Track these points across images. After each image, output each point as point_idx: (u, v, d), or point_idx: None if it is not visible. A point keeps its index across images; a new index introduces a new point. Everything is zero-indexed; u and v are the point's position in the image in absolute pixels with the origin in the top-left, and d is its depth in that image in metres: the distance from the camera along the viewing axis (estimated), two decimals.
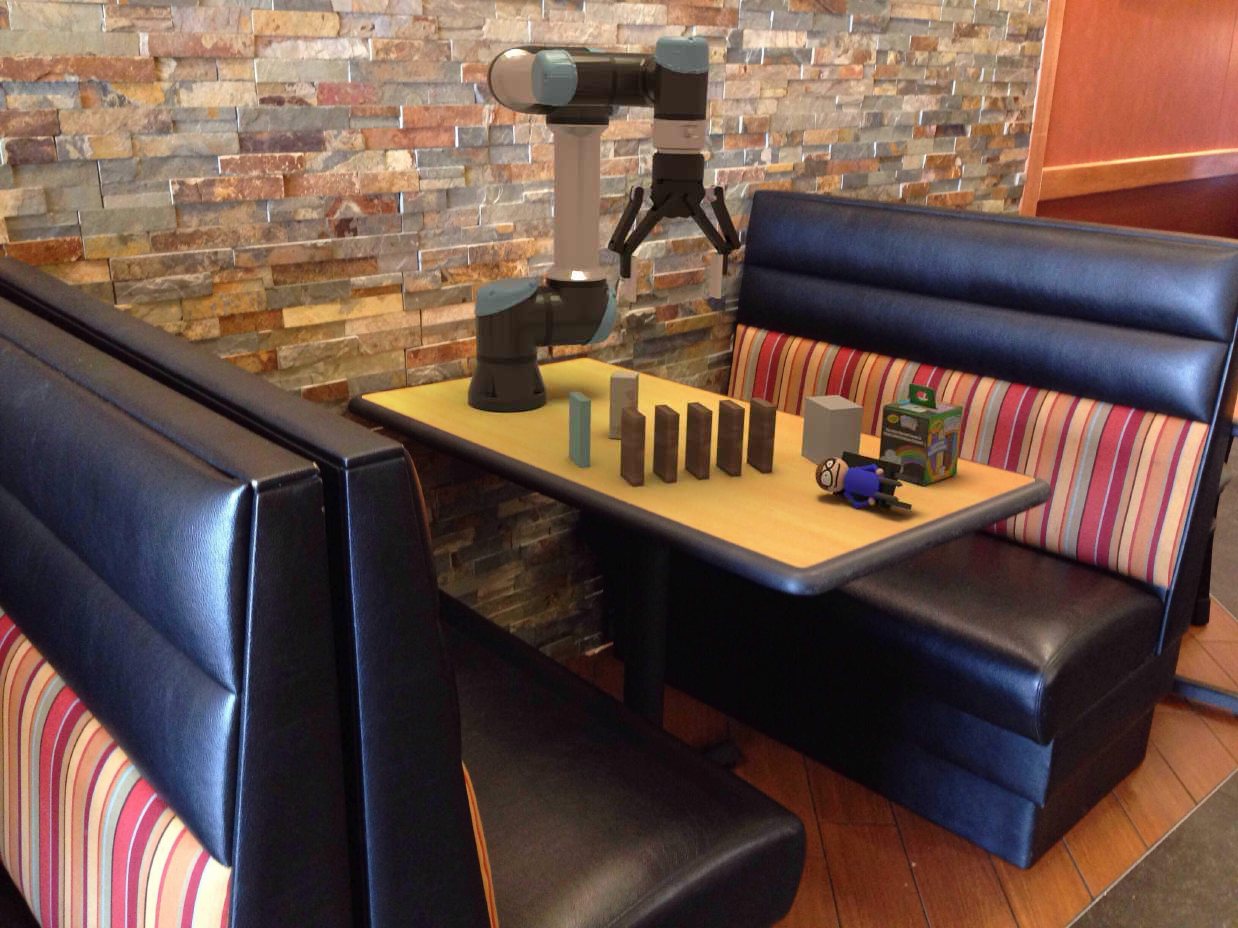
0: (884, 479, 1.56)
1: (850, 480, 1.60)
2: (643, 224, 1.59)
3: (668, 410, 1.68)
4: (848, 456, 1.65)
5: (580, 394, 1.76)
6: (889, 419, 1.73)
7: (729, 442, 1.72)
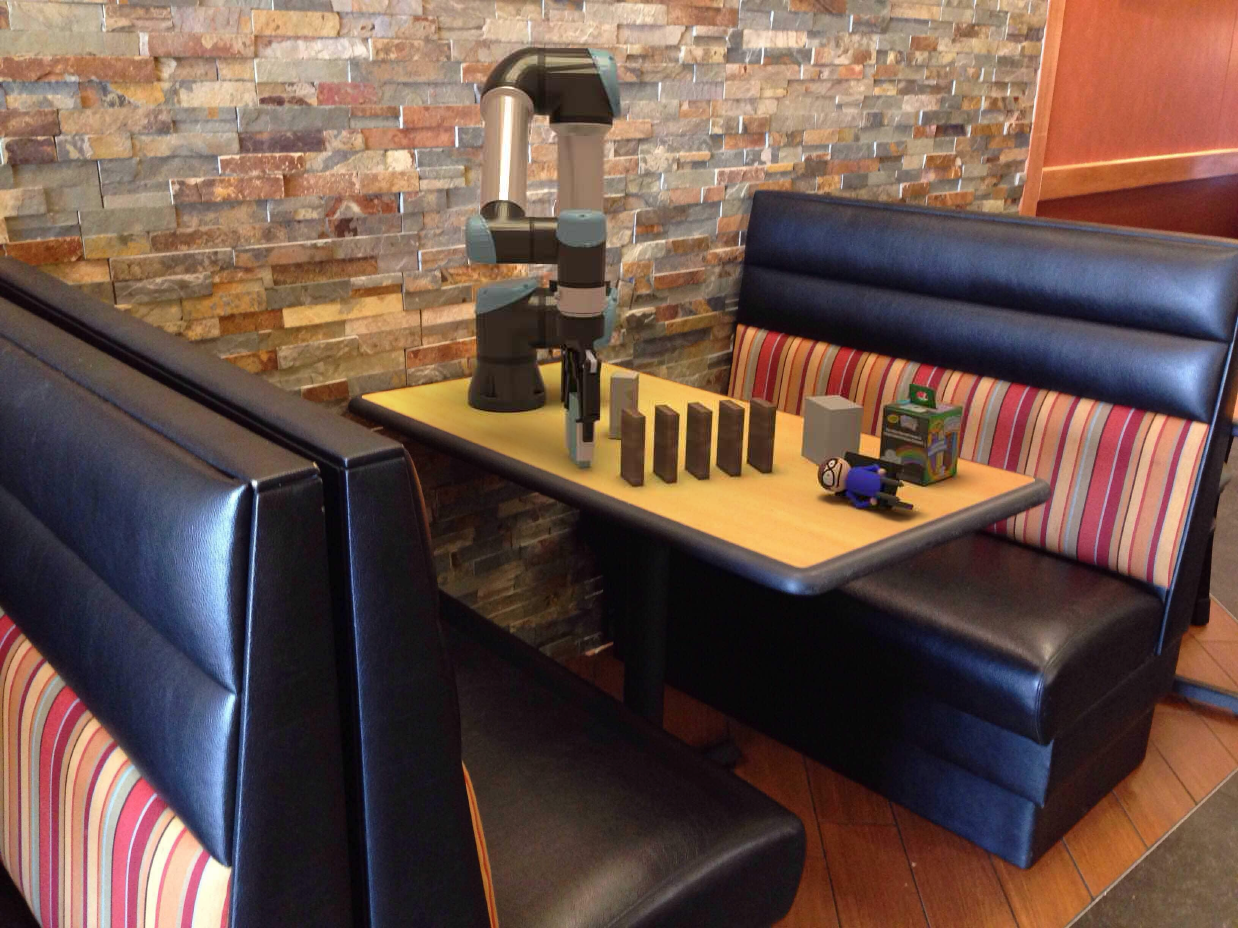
0: (886, 479, 1.56)
1: (852, 480, 1.60)
2: None
3: (668, 410, 1.68)
4: (851, 456, 1.65)
5: None
6: (889, 419, 1.73)
7: (729, 442, 1.72)
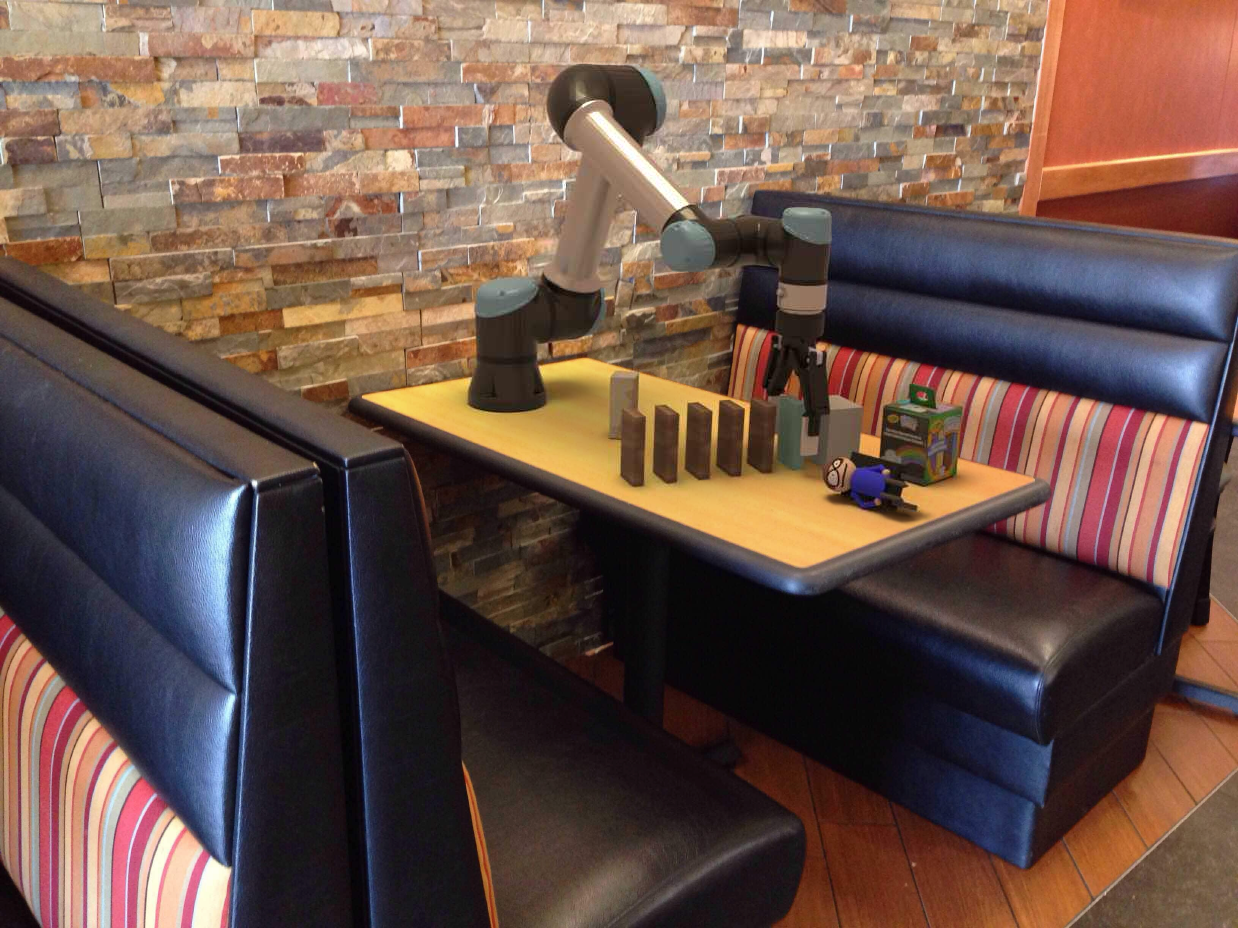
0: (890, 480, 1.56)
1: (856, 480, 1.60)
2: None
3: (668, 410, 1.68)
4: (857, 456, 1.65)
5: (792, 397, 1.77)
6: (889, 419, 1.73)
7: (729, 442, 1.72)
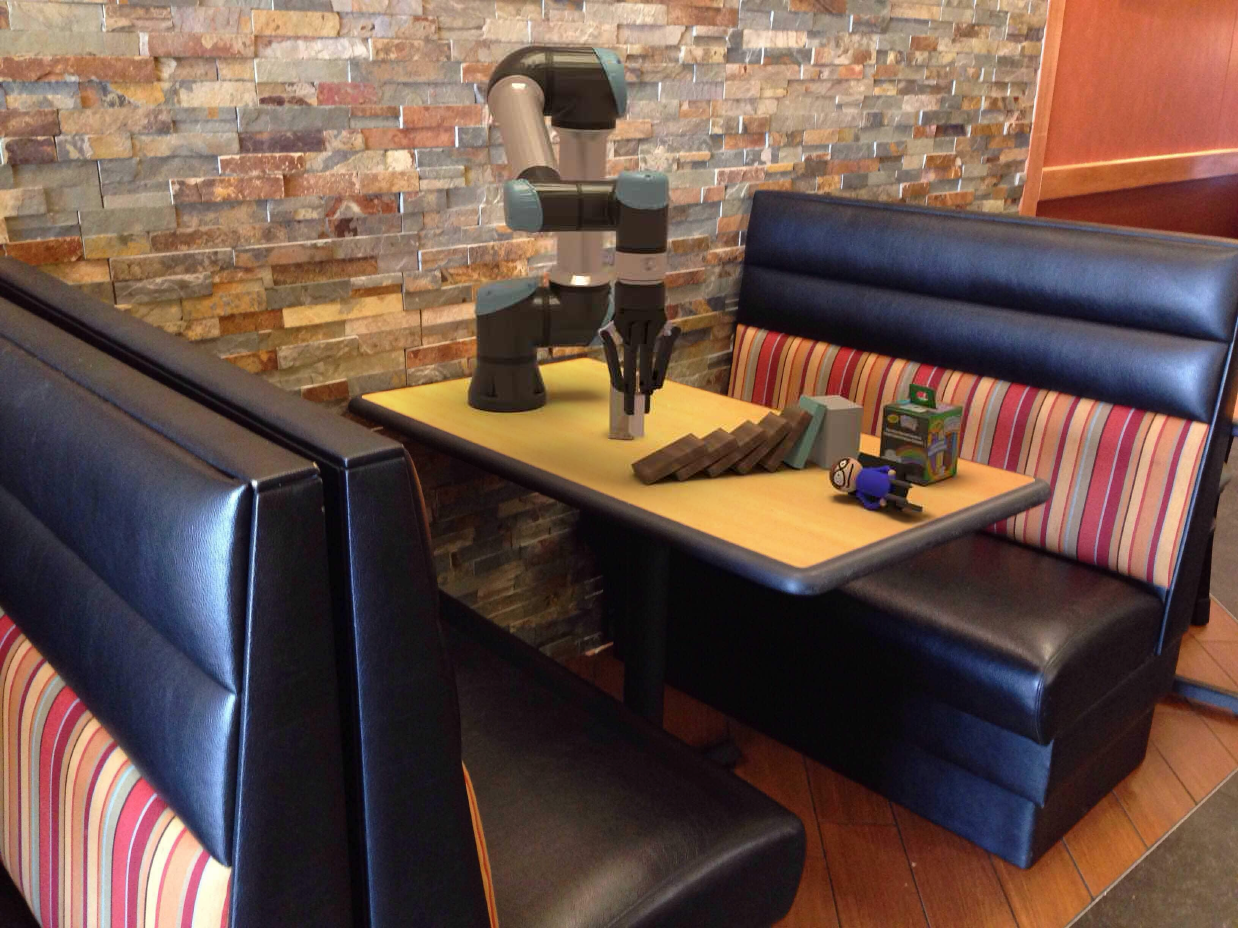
0: (894, 480, 1.56)
1: (862, 481, 1.60)
2: (627, 361, 1.63)
3: None
4: (864, 457, 1.65)
5: (812, 398, 1.78)
6: (889, 419, 1.73)
7: None
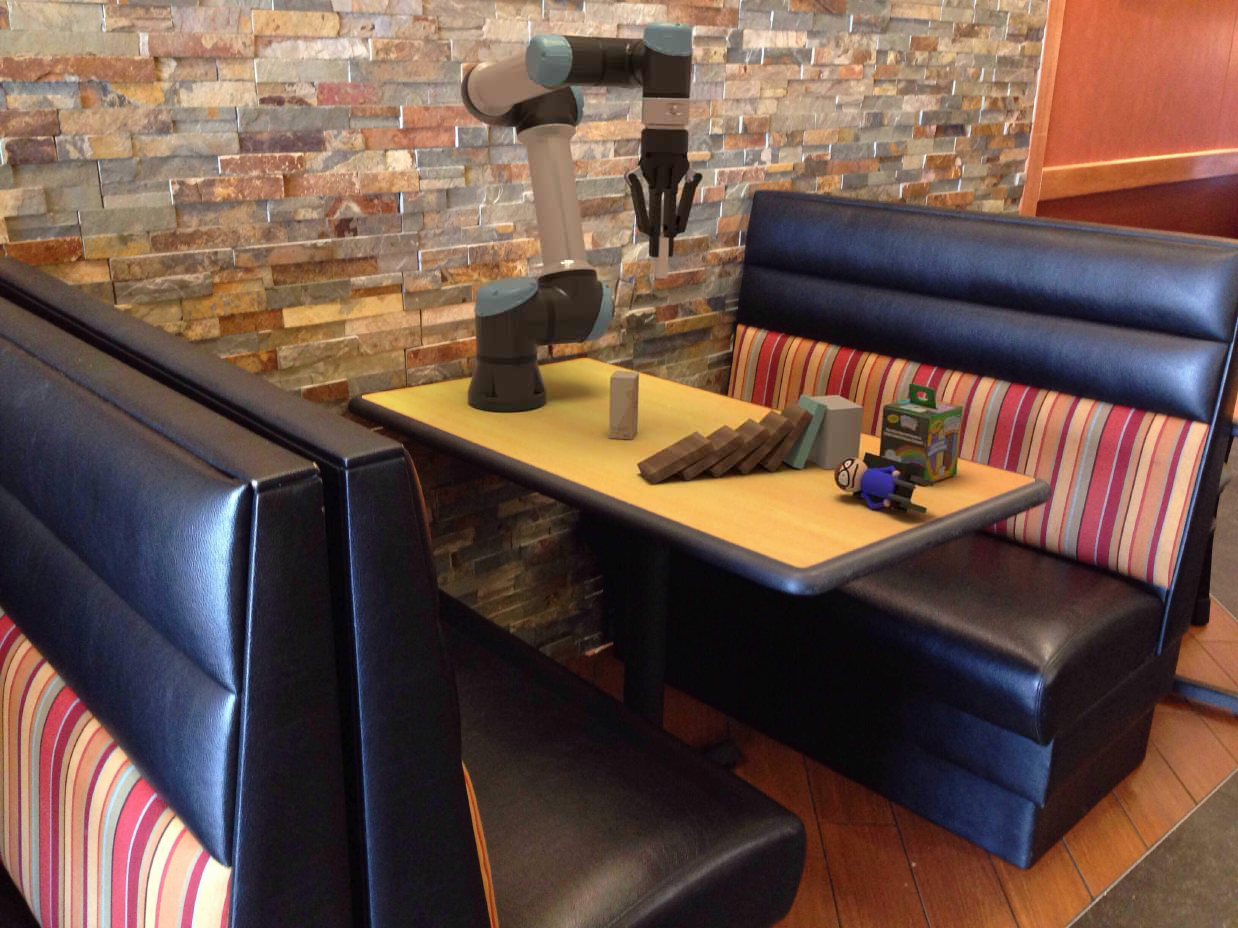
0: (898, 481, 1.56)
1: (866, 481, 1.60)
2: (652, 204, 1.76)
3: None
4: (869, 457, 1.65)
5: (812, 398, 1.78)
6: (889, 419, 1.73)
7: None
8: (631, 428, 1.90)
